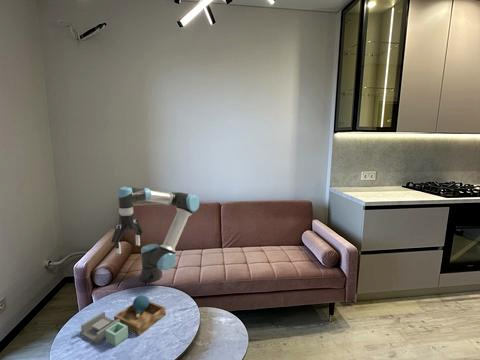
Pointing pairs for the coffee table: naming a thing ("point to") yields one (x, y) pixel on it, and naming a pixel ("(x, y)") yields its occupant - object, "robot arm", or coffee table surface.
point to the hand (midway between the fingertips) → (128, 249)
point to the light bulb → (140, 304)
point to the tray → (141, 317)
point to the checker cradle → (92, 333)
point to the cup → (116, 334)
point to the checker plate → (100, 324)
